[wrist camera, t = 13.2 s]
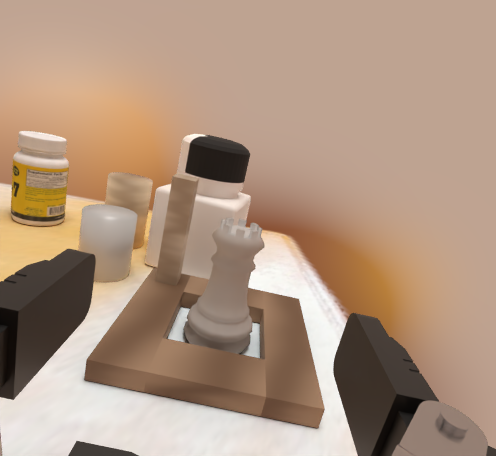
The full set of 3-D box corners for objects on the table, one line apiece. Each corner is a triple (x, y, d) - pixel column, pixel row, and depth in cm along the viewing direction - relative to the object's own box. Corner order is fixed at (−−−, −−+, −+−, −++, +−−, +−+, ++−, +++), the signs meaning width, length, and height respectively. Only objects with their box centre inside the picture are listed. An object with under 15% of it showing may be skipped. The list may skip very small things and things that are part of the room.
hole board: (84, 379, 18) (105, 202, 16) (152, 280, 30) (170, 170, 27) (318, 428, 18) (374, 263, 16) (295, 311, 30) (326, 205, 28)
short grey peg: (66, 275, 28) (72, 212, 26) (90, 256, 31) (96, 201, 30) (118, 286, 28) (127, 224, 26) (135, 266, 31) (144, 212, 30)
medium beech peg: (93, 243, 34) (101, 175, 32) (110, 231, 38) (118, 170, 36) (135, 252, 34) (145, 185, 33) (147, 239, 38) (157, 179, 36)
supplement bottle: (13, 209, 38) (17, 127, 36) (64, 213, 40) (71, 137, 38) (7, 225, 34) (11, 133, 31) (64, 228, 36) (71, 143, 34)
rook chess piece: (229, 317, 27) (252, 214, 25) (261, 354, 23) (293, 238, 21) (172, 324, 24) (193, 211, 22) (199, 366, 21) (227, 237, 19)
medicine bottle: (237, 261, 38) (263, 146, 35) (219, 287, 31) (250, 148, 28) (173, 243, 39) (193, 129, 36) (142, 264, 32) (164, 127, 29)
